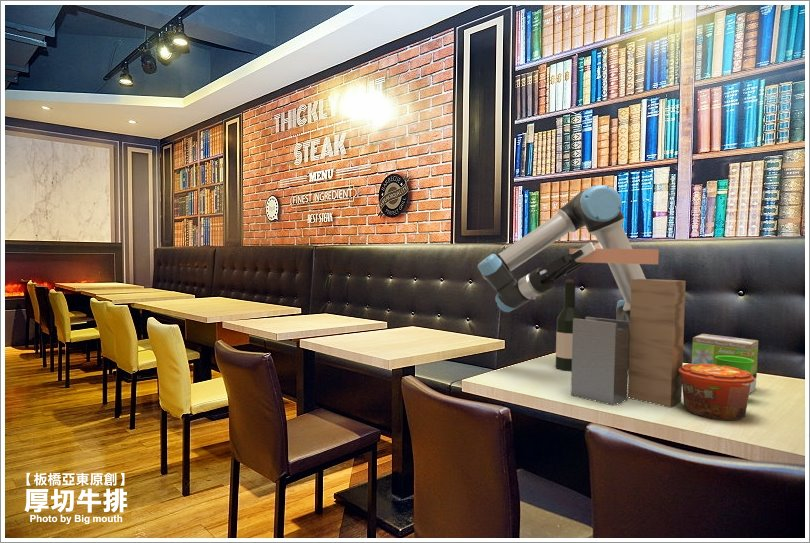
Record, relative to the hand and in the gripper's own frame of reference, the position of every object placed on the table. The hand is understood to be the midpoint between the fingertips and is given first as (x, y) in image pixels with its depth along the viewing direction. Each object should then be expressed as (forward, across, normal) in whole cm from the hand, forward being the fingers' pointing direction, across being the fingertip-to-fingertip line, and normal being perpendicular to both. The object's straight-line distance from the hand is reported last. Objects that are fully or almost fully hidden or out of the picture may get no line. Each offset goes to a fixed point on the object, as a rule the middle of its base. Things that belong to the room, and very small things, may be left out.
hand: (597, 246), depth 147 cm
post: (-6, -1, -44) cm, 44 cm away
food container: (+6, -2, -51) cm, 52 cm away
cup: (+5, -20, -50) cm, 54 cm away
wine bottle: (-36, -16, -26) cm, 48 cm away
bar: (+1, 0, -6) cm, 6 cm away
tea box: (0, -32, -48) cm, 57 cm away
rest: (-15, +9, -39) cm, 42 cm away
